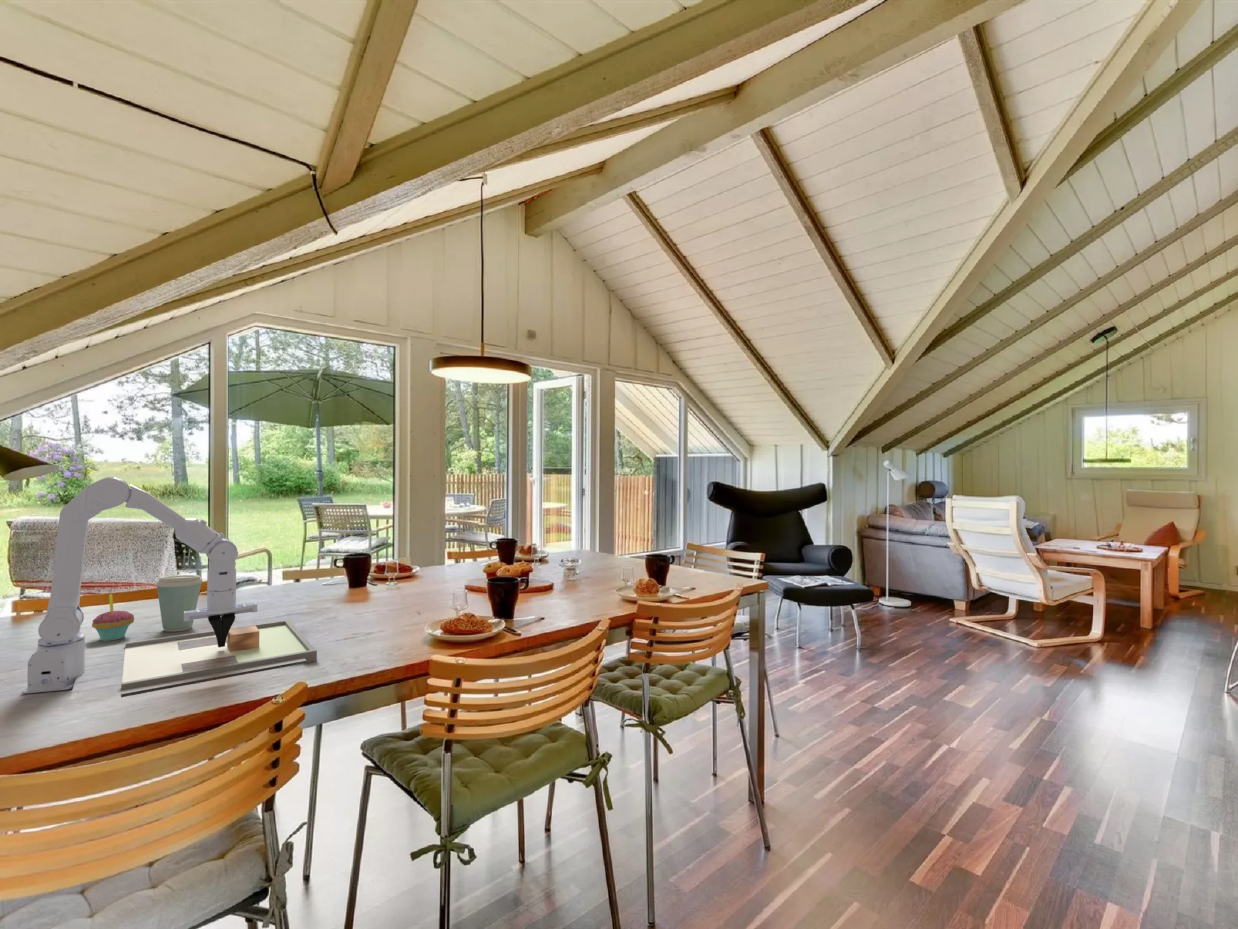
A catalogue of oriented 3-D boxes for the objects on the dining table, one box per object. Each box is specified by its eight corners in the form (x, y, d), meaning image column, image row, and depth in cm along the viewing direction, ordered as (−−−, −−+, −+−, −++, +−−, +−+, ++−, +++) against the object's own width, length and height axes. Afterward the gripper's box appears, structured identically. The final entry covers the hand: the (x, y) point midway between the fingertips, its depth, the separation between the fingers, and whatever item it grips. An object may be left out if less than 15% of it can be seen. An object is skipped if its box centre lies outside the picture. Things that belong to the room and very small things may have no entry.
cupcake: (85, 639, 153) (86, 593, 153) (124, 631, 161) (125, 587, 161) (101, 644, 149) (101, 597, 149) (140, 636, 157) (141, 591, 157)
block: (229, 652, 140) (230, 635, 140) (227, 646, 145) (227, 629, 145) (259, 647, 144) (259, 631, 144) (255, 641, 148) (255, 625, 148)
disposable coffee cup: (163, 625, 167) (163, 572, 167) (207, 622, 171) (208, 570, 171) (148, 635, 157) (148, 579, 157) (196, 632, 161) (196, 577, 161)
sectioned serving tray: (121, 697, 117) (121, 684, 117) (125, 652, 143) (125, 642, 143) (316, 661, 139) (316, 650, 139) (288, 628, 165) (288, 619, 165)
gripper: (254, 583, 149) (254, 636, 149) (183, 590, 140) (182, 647, 140) (258, 587, 143) (258, 643, 143) (184, 595, 134) (184, 655, 134)
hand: (221, 646), depth 141 cm, fingers closed
